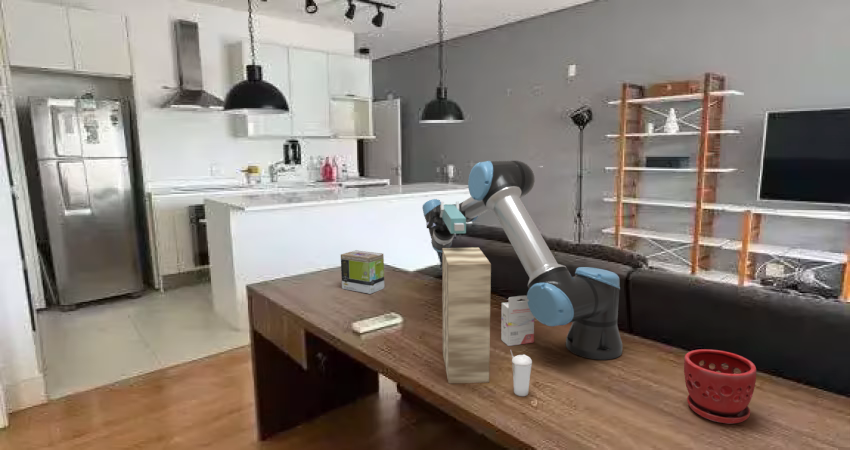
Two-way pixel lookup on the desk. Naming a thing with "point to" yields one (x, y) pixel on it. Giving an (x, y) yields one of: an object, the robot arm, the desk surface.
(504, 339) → the ink cartridge box
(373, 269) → the tea box
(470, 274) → the stand
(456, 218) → the teal rounded-top bar
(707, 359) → the plant pot
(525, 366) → the milkshake
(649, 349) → the desk surface
